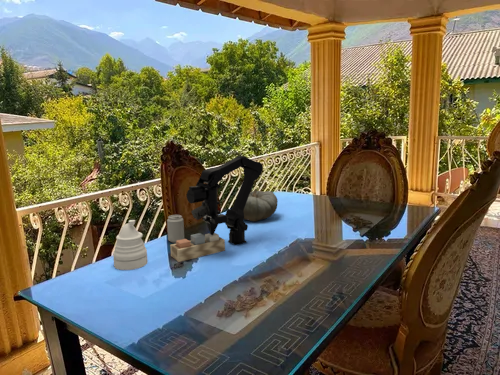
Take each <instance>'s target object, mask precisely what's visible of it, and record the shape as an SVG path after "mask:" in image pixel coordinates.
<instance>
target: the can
mask: <svg viewBox="0 0 500 375" xmlns="http://www.w3.org/2000/svg"><path fill="white" fill-rule="evenodd" d="M167 218H168V219H166V225H167V240H168V241H169V242H170V243H172V244H176V241H177V240H182V239H185V226H184V225H185V223H184V222H185V221H184V218H183V216H182V215H180V214H172V215H169V216H167Z"/></svg>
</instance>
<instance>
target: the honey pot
mask: <svg viewBox="0 0 500 375" xmlns="http://www.w3.org/2000/svg"><path fill="white" fill-rule="evenodd" d="M135 223H136V219H130V220H128V223H125V224H124V225H123V226H122V227H121V229H120V231H119V233H118V234H117V235H116V237H115V239H116V242H115V246H114V250H113V253H112V256H113V265H114V266H113V267H114V269H117V270H118V271H120V270H121V271H130V270H132V271H133V270H136V269H137V270H138V269H140V268H142V267H144V266H146V265H147V264H148V261H149V260H148V252H147V248H146V246H145V243H144V240H143V239H142V238H143V236H144V235H143V233H142V232H140V231H138V230H137V228H136V227H135V226H134V225H135Z"/></svg>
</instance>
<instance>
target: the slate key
mask: <svg viewBox="0 0 500 375" xmlns="http://www.w3.org/2000/svg"><path fill="white" fill-rule="evenodd" d="M190 240H191V243H192V244H194V245H199V244H203V243H205V234H202V232H198V233H195V234H190Z"/></svg>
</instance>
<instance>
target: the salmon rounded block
mask: <svg viewBox="0 0 500 375" xmlns="http://www.w3.org/2000/svg"><path fill="white" fill-rule="evenodd" d="M175 244H176V247H178V248H179V249H181V248H185V247H190V240H188V239H187V238H184V239H182V240H177V241H176V243H175Z"/></svg>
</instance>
